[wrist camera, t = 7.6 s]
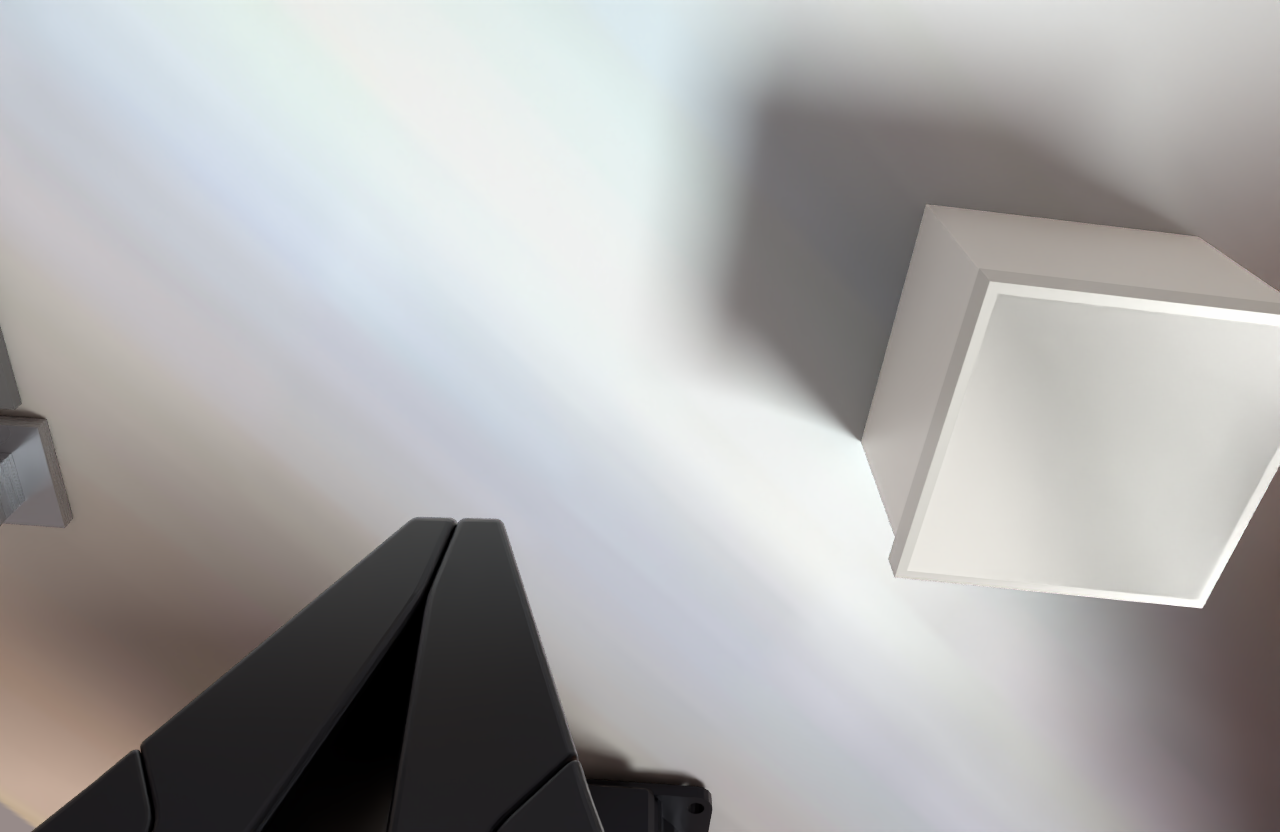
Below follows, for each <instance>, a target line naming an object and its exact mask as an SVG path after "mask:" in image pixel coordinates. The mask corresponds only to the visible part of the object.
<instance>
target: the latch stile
mask: <svg viewBox="0 0 1280 832" xmlns="http://www.w3.org/2000/svg"><path fill="white" fill-rule="evenodd" d="M72 519H73V517H72V513H71V509H70V505H69V502H68V498H67V494H66V490H65V487H64V483H63V479H62V475H61V472H60V468H59V464H58V460H57V457H56V453H55V449H54V445H53V442H52V438H51V434H50V430H49V427H48V423H47V419H37V418H24V417H11V416H0V525H1V524H2V523H6V524H19V525H33V526H46V527H60V528H65V527H66V526H67V525H68V524H69V523H70V521H71V520H72Z"/></svg>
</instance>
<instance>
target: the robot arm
mask: <svg viewBox="0 0 1280 832" xmlns="http://www.w3.org/2000/svg"><path fill="white" fill-rule="evenodd" d="M140 748H141V752H140V751H139V750H132V751H131V752H129V753H128V754H127V755H126V756H125V757H123V758H122V759H121V760H120V761H119V762H117V763H116V764H115V765H114V766H113V767H111V768H110V769H109V770H108V771H107V772H105V773H104V774H103V775H102V776H101V777H99V778H98V779H97V780H96V781H94V782H93V783H92V784H91V785H89V786H88V787H87V788H86V789H84V790H83V791H82V792H81V793H79V794H78V795H77V796H76V797H74V798H73V799H72V800H71V801H69V802H68V803H67V804H66V805H64V806H63V807H62V808H61V809H59V810H58V811H57V812H55V813H54V814H53V815H52V816H50V817H49V818H48V819H47V820H45V821H44V822H43V823H42V824H40V825H39V826H38V827H37V828H35V829H34V830H33V831H32V832H708V830H709V825H710V819H711V814H712V798H711V794H710V792H709V791H708V790H706V789H704V788H701V787H695V786H680V785H665V784H651V783H636V782H621V781H606V780H591V779H586V778H585V775H584V771H583V768H582V765H581V763H580V762H579V761H578V754H577V751H576V748H575V745H574V742H573V739H572V735H571V732H570V729H569V726H568V723H567V720H566V717H565V714H564V710H563V707H562V704H561V701H560V698H559V695H558V692H557V689H556V685H555V682H554V679H553V676H552V673H551V670H550V667H549V664H548V660H547V657H546V654H545V651H544V648H543V645H542V642H541V639H540V635H539V632H538V629H537V626H536V623H535V620H534V617H533V614H532V610H531V607H530V604H529V601H528V598H527V595H526V592H525V589H524V585H523V582H522V579H521V576H520V573H519V570H518V567H517V564H516V560H515V557H514V554H513V551H512V548H511V545H510V542H509V539H508V535H507V532H506V529H505V526H504V524H503V522H502V521H501V520H499V519H483V518H465V519H462V520H460V521H459V522H458V523H457V521H456V520H454V519H453V518H439V517H416V518H413V519H412V520H410V521H408V522H407V523H406V524H405V525H404V526H402V527H401V528H400V529H399V530H398V531H396V532H395V533H394V534H393V535H392V536H390V537H389V538H388V539H387V540H386V541H384V542H383V543H382V544H381V545H380V546H378V547H377V548H376V549H375V550H374V551H372V552H371V553H370V554H369V555H367V556H366V557H365V558H364V559H363V560H361V561H360V562H359V563H358V564H357V565H355V566H354V567H353V568H352V569H351V570H349V571H348V572H347V573H346V574H345V575H343V576H342V577H341V578H340V579H339V580H337V581H336V582H335V583H334V584H333V585H331V586H330V587H329V588H328V589H326V590H325V591H324V592H323V593H322V594H320V595H319V596H318V597H317V598H316V599H314V600H313V601H312V602H311V603H310V604H308V605H307V606H306V607H305V608H304V609H302V610H301V611H300V612H299V613H298V614H296V615H295V616H294V617H293V618H292V619H290V620H289V621H288V622H287V623H286V624H284V625H283V626H282V627H281V628H279V629H278V630H277V631H276V632H275V633H273V634H272V635H271V636H270V637H269V638H267V639H266V640H265V641H264V642H263V643H261V644H260V645H259V646H258V647H257V648H255V649H254V650H253V651H252V652H251V653H249V654H248V655H247V656H246V657H245V658H243V659H242V660H241V661H240V662H238V663H237V664H236V665H235V666H234V667H232V668H231V669H230V670H229V671H228V672H226V673H225V674H224V675H223V676H222V677H220V678H219V679H218V680H217V681H216V682H214V683H213V684H212V685H211V686H210V687H208V688H207V689H206V690H205V691H204V692H202V693H201V694H200V695H199V696H198V697H196V698H195V699H194V700H193V701H191V702H190V703H189V704H188V705H187V706H185V707H184V708H183V709H182V710H181V711H179V712H178V713H177V714H176V715H175V716H173V717H172V718H171V719H170V720H169V721H167V722H166V723H165V724H164V725H163V726H161V727H160V728H159V729H158V730H157V731H155V732H154V733H153V734H152V735H150V736H149V737H148V738H147V739H146V740H144V741H143V742H142V744H141V746H140Z"/></svg>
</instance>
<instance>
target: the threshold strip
mask: <svg viewBox="0 0 1280 832" xmlns="http://www.w3.org/2000/svg"><path fill="white" fill-rule="evenodd" d="M20 404H22V403H21V399H20V395H19V392H18V388H17V385H16V381H15V377H14V374H13V370H12V367H11V363H10V360H9V356H8V352H7V349H6V345H5V342H4V338H3V335H2V331H1V327H0V408H1V409H14V410H15V409H16V408H17V407H18V406H19V405H20Z"/></svg>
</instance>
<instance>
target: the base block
mask: <svg viewBox="0 0 1280 832" xmlns="http://www.w3.org/2000/svg"><path fill="white" fill-rule="evenodd" d="M861 444H862V446H863V449H864V452H865V455H866V457H867V460H868V463H869V466H870V469H871V471H872V474H873V477H874V480H875V483H876V485H877V488H878V491H879V494H880V497H881V499H882V502H883V505H884V508H885V511H886V513H887V516H888V519H889V522H890V525H891V527H892V530H893V533H894V536H895V539H894V542H893V545H892V549H891V552H890V555H889V558H888V559H889V562H890V565H891V568H892V571H893V574H894V577H895V578H905V579H915V580H925V581H935V582H945V583H955V584H965V585H975V586H985V587H994V588H1004V589H1014V590H1024V591H1034V592H1044V593H1054V594H1064V595H1074V596H1084V597H1094V598H1104V599H1114V600H1124V601H1134V602H1144V603H1154V604H1164V605H1174V606H1184V607H1194V608H1203V606H1204V605H1205V603H1206V601H1207V599H1208V597H1209V595H1210V593H1211V592H1212V590H1213V588H1214V586H1215V584H1216V582H1217V580H1218V579H1219V577H1220V575H1221V573H1222V571H1223V569H1224V568H1225V566H1226V564H1227V562H1228V560H1229V558H1230V556H1231V555H1232V553H1233V551H1234V549H1235V547H1236V545H1237V543H1238V542H1239V540H1240V538H1241V536H1242V534H1243V532H1244V531H1245V529H1246V527H1247V525H1248V523H1249V521H1250V519H1251V518H1252V516H1253V514H1254V512H1255V510H1256V508H1257V506H1258V505H1259V503H1260V501H1261V499H1262V497H1263V495H1264V494H1265V492H1266V490H1267V488H1268V486H1269V484H1270V482H1271V481H1272V479H1273V477H1274V475H1275V473H1276V471H1277V469H1278V468H1279V466H1280V292H1279V291H1277V290H1276V289H1274V288H1273V287H1271V286H1270V285H1268V284H1267V283H1266V282H1264V281H1263V280H1261V279H1260V278H1258V277H1257V276H1255V275H1254V274H1252V273H1251V272H1249V271H1248V270H1247V269H1245V268H1244V267H1242V266H1241V265H1239V264H1238V263H1236V262H1235V261H1233V260H1232V259H1230V258H1229V257H1228V256H1226V255H1225V254H1223V253H1222V252H1220V251H1219V250H1217V249H1216V248H1214V247H1213V246H1211V245H1210V244H1208V243H1207V242H1206V241H1204V240H1203V239H1201V238H1200V237H1198V236H1190V235H1181V234H1173V233H1165V232H1156V231H1148V230H1139V229H1131V228H1123V227H1114V226H1106V225H1098V224H1089V223H1081V222H1073V221H1064V220H1056V219H1048V218H1039V217H1031V216H1022V215H1014V214H1006V213H997V212H989V211H981V210H972V209H964V208H956V207H947V206H939V205H931V204H926V206H925V210H924V213H923V217H922V221H921V224H920V228H919V232H918V235H917V239H916V243H915V246H914V250H913V254H912V257H911V261H910V265H909V268H908V272H907V276H906V279H905V283H904V287H903V290H902V294H901V297H900V301H899V305H898V308H897V312H896V316H895V319H894V323H893V327H892V330H891V334H890V338H889V341H888V345H887V349H886V352H885V356H884V360H883V363H882V367H881V371H880V374H879V378H878V381H877V385H876V389H875V392H874V396H873V400H872V403H871V407H870V411H869V414H868V418H867V422H866V425H865V429H864V433H863V436H862V440H861Z"/></svg>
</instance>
